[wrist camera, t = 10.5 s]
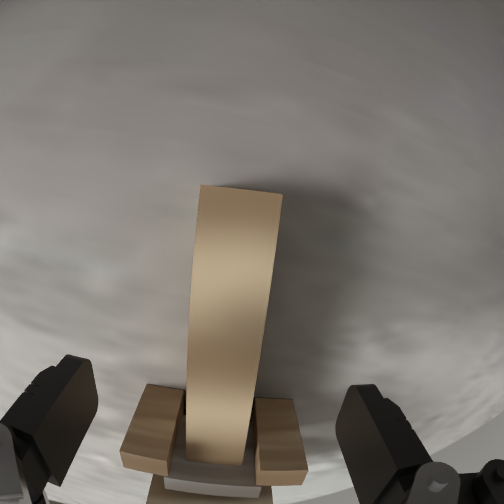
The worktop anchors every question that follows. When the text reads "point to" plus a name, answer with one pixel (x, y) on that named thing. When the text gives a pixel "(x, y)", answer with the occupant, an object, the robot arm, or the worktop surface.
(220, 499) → the post block
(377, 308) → the worktop surface
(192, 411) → the light wooden bar
